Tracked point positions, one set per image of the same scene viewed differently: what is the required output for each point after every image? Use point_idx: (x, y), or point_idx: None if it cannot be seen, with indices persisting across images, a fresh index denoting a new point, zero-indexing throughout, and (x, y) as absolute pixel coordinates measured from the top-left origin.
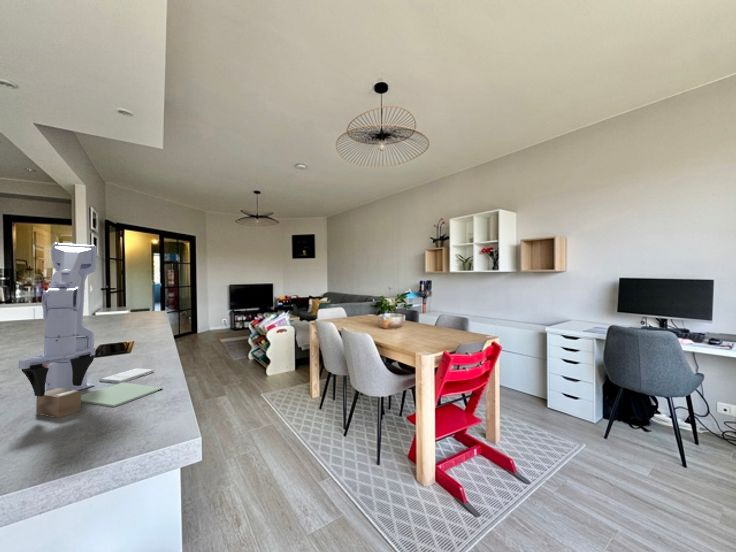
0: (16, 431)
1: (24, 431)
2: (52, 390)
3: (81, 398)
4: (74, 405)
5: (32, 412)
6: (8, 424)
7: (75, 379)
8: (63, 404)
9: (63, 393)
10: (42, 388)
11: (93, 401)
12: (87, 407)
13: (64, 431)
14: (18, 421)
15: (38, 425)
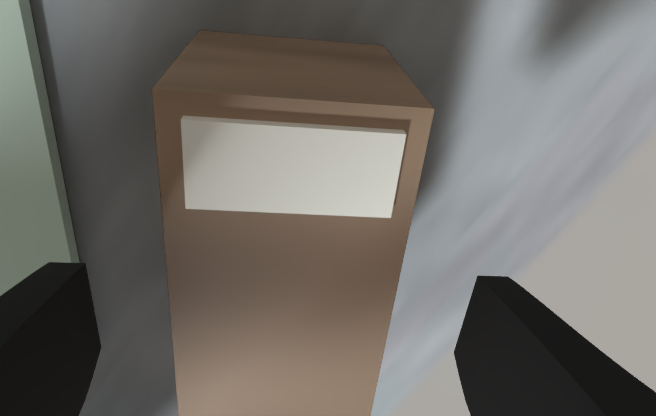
0: (640, 86)
1: (648, 21)
2: (259, 402)
3: None
4: (251, 51)
5: None
6: (520, 264)
7: (57, 387)
8: (365, 72)
9: (326, 188)
10: (566, 332)
11: (25, 94)
12: (125, 37)
13: None
14: (474, 259)
15: (539, 40)
